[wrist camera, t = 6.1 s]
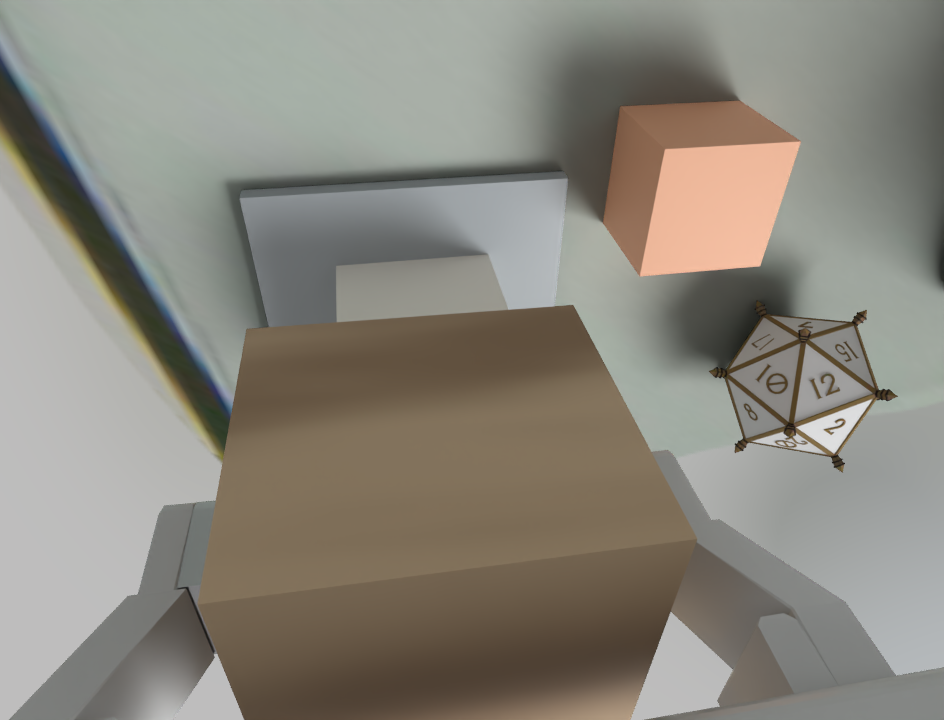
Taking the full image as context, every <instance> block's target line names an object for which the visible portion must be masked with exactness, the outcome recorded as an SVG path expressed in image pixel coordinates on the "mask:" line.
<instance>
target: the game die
mask: <svg viewBox="0 0 944 720" xmlns="http://www.w3.org/2000/svg"><path fill="white" fill-rule="evenodd" d="M764 306H765V305H763V304H761V303H760V302H758V301H757V303H756V309H755V310H756V311H757V314H759V315H760V316H761V318H760V319H759V321H758V322H757V324H756V325H755V327H754V328H753V330H752V331H751V333H750V334H749V336H748V337H747V339H746V340H745V342H744V343H743V345H742V346H741V348H740V349H739V351H738V352H737V354H736V355H735V357H734V358H733V360H732V361H731V363H730V364H729V366H728V367H727V369H726V370H723V369H722V368H720V369H719V368H718V367H716V368H715V369H713V370H711V371H709V372H710V373H711V374H712V375H713V376H714V377H715V378H717V377H719V378H721V377H723V378H724V379H725V381H726V384H727V387H728V391H729V394H730V397H731V400H732V403H733V407H734V410H735V413H736V416H737V419H738V423H739V426H740V429H741V432H742V435H743V439H742V440H741V441H738V443H737V444H735V445H736V446H735V453H736V452H739V451H743V449H744V448H746V445H747V443H755V444H760V445H766V446H772V447H777V448H784V449H789V450H794V451H800V452H806V453H812V454H817V455H823V456H829V457H831V458H832V461H833V462H832V463H833V464H834V468H837V469H838V470H840V471H841V472H843V467H844V464H845V463H843V462H842V459H841V458H840V457H839V456H838V454H839V452H840V451H841V449H842V448H843V447H844V445H845V443H846V442H847V441H848V439H849V438H850V436H851V435H852V434H853V432H854V431H855V429H856V428H857V427H858V425H859V424H860V422H861V421H862V419H863V418H864V417H865V415H866V414H867V412H868V411H869V409H870V408H871V407H872V405H873V404H874V402H875V401H876V399H877V400H880V399H881V400H886V401H889V400H892V398H895V397H898V396H897V395H895V394H894V393H893V392H892V391H891V390H890V389H888V390H885V389H883V390H879V389H878V386H877V383H876V381H875V378H874V375H873V372H872V369H871V366H870V363H869V360H868V357H867V354H866V351H865V348H864V345H863V342H862V339H861V336H860V333H859V330H858V328H857V326H858V324H860V323H863V321H864V320H866V314H867V310H865V311H862V312H859V313H858V312H857V315H856V316H854V317H853V318H854V319H853V321H852V322H845V321H834V320H824V319H813V318H802V317H791V316H780V315H769V314H767V313H766V308H765V307H764Z"/></svg>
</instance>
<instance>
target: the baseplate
mask: <svg viewBox="0 0 944 720" xmlns="http://www.w3.org/2000/svg"><path fill="white" fill-rule="evenodd" d="M567 187H568V177H567V176H566V174H565V173H564V171H558V172H541V173H524V174H507V175H490V176H473V177H456V178H439V179H422V180H405V181H388V182H371V183H354V184H337V185H320V186H303V187H286V188H269V189H252V190H241V194H240V198H239V199H240V203H241V208H242V212H243V216H244V221H245V225H246V230H247V234H248V238H249V243H250V247H251V252H252V256H253V260H254V265H255V269H256V274H257V278H258V282H259V287H260V291H261V296H262V300H263V304H264V309H265V313H266V318H267V322H268V326H269V327H279V326H293V325H307V324H320V323H334V322H348V321H361V320H375V319H389V318H402V317H416V316H430V315H443V314H457V313H471V312H485V311H498V310H512V309H526V308H539V307H553V306H555V298H556V289H557V280H558V271H559V261H560V252H561V243H562V233H563V224H564V215H565V206H566V196H567Z"/></svg>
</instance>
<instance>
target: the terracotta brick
mask: <svg viewBox="0 0 944 720" xmlns="http://www.w3.org/2000/svg"><path fill="white" fill-rule="evenodd" d="M800 143H801V141H800V140H798V139H797V138H795V137H794V136H792V135H791V134H789V133H788V132H786V131H785V130H783V129H782V128H780V127H779V126H777V125H776V124H774V123H773V122H771V121H770V120H768V119H767V118H765V117H764V116H762V115H761V114H759V113H758V112H756V111H755V110H753V109H752V108H750V107H749V106H747V105H746V104H744V103H743V102H741V101H720V102H699V103H678V104H657V105H636V106H620V111H619V118H618V124H617V131H616V138H615V145H614V151H613V158H612V165H611V172H610V179H609V185H608V192H607V199H606V206H605V213H604V219H603V224H604V225H605V227H606V228H607V230H608V231H609V233H610V234H611V235H612V237H613V238H614V240H615V241H616V243H617V244H618V246H619V247H620V248H621V250H622V251H623V253H624V254H625V256H626V257H627V259H628V260H629V262H630V263H631V264H632V266H633V267H634V269H635V270H636V272H637V273H638V275H639V276H650V275H662V274H674V273H686V272H698V271H710V270H721V269H733V268H745V267H757V266H760V265H761V262H762V259H763V256H764V253H765V250H766V247H767V244H768V241H769V238H770V235H771V232H772V229H773V225H774V222H775V219H776V216H777V213H778V210H779V207H780V204H781V201H782V198H783V195H784V192H785V189H786V186H787V183H788V180H789V177H790V174H791V171H792V168H793V165H794V162H795V159H796V156H797V152H798V149H799V146H800Z"/></svg>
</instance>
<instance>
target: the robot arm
mask: <svg viewBox="0 0 944 720" xmlns="http://www.w3.org/2000/svg"><path fill="white" fill-rule="evenodd" d="M652 454H653V456H654V458H655V460H656V462H657V464H658V465H659V467H660V469H661V471H662V473H663V475H664V477H665V479H666V481H667V482H668V484H669V486H670V488H671V490H672V492H673V494H674V496H675V497H676V499H677V501H678V503H679V505H680V507H681V509H682V511H683V512H684V514H685V516H686V518H687V520H688V522H689V524H690V526H691V528H692V529H693V531H694V533H695V535H696V537H697V542H696V544H695V547H694V550H693V553H692V555H691V558H690V561H689V563H688V566H687V569H686V571H685V574H684V577H683V579H682V582H681V585H680V587H679V590H678V593H677V596H676V598H675V601H674V604H673V606H672V609H671V612H672V613H673V614H674V615H675V616H676V617H677V618H678V619H679V620H680V621H682V622H683V623H684V624H685V625H686V626H687V627H688V628H689V629H690V630H691V631H692V632H693V633H695V635H697V636H698V637H699V638H700V639H701V640H702V641H703V642H704V643H705V644H706V645H707V646H708V647H709V648H711V649H712V650H713V651H714V652H715V653H716V654H717V655H718V656H719V657H720V658H721V659H722V660H723V661H724V662H725V663H726V664H728V665H729V666H730V667H731V668H732V669H733V671H732V673H731V675H730V677H729V679H728V681H727V683H726V685H725V686H724V688H723V690H722V692H721V694H720V697H719V698H718V703H719V705H720V707H715V708H709V709H704V710H698V711H692V712H686V713H681V714H675V715H670V716H663V717H658V718H653V719H646V720H944V667H943V668H937V669H931V670H926V671H920V672H914V673H909V674H903V675H897V676H896V675H895V673H894V672H893V671H892V670H891V668H890V666H889V665H888V663H887V662H886V660H885V659H884V657H883V656H882V655H881V653H880V652H879V650H878V649H877V647H876V646H875V644H874V643H873V641H872V640H871V638H870V637H869V636H868V634H867V633H866V631H865V630H864V628H863V627H862V625H861V624H860V622H859V621H858V620H857V618H856V617H855V615H854V614H853V612H852V611H851V609H850V608H849V607H848V605H847V604H846V602H845V601H843V600H842V599H840V598H839V597H837V596H835V595H834V594H832V593H831V592H829V591H828V590H826V589H825V588H823V587H821V586H820V585H819V584H817V583H816V582H814V581H812V580H811V579H809V578H808V577H806V576H805V575H803V574H802V573H800V572H799V571H797V570H796V569H794V568H793V567H791V566H790V565H788V564H786V563H785V562H784V561H782V560H781V559H779V558H777V557H776V556H774V555H773V554H771V553H770V552H768V551H767V550H765V549H764V548H762V547H761V546H759V545H758V544H756V543H755V542H753V541H752V540H750V539H748V538H747V537H745V536H744V535H742V534H741V533H739V532H738V531H736V530H735V529H733V528H732V527H730V526H728V525H727V524H726V523H724V522H723V521H721V520H719V519H718V520H711V519H710V517H709V515H708V513H707V512H706V510H705V508H704V507H703V505H702V503H701V501H700V500H699V498H698V496H697V495H696V493H695V491H694V489H693V488H692V486H691V484H690V483H689V481H688V479H687V477H686V476H685V474H684V472H683V470H682V469H681V467H680V465H679V464H678V462H677V460H676V458H675V457H674V455H673V454H672V453H671V452H670V451H668V450H663V451H655V452H652ZM215 503H216V501H206V502H197V503H188V504H178V505H166V506H164V507H163V509H162V510H161V512H160V513H159V515H158V519H157V523H156V527H155V531H154V535H153V538H152V542H151V546H150V550H149V554H148V557H147V561H146V565H145V569H144V573H143V577H142V581H141V585H140V588H139V592H138V595H131V596H127V598H126V599H125V600H124V601H123V602H122V603H121V604H120V605H119V606H118V607H117V608H116V609H115V610H114V611H113V612H112V613H111V614H110V615H109V616H108V617H107V618H106V619H105V620H104V622H103V623H102V624H101V625H100V626H99V627H98V628H97V629H96V630H95V631H94V632H93V633H92V634H91V635H90V636H89V637H88V638H87V639H86V640H85V641H84V642H83V643H82V644H81V646H80V647H79V648H77V650H76V651H75V652H74V653H73V654H72V655H71V656H70V657H69V658H68V659H67V660H66V661H65V662H64V663H63V664H62V665H61V666H60V667H59V668H58V669H57V670H56V671H55V672H54V673H53V675H52V676H51V677H50V678H49V679H48V680H47V681H46V682H45V683H44V684H43V685H42V686H41V687H40V688H39V689H38V690H37V691H36V692H35V693H34V694H33V695H32V696H31V697H30V699H28V701H27V702H26V703H25V704H24V705H23V706H22V707H21V708H20V709H19V710H18V711H17V712H16V713H15V714H14V715H13V716H12V717H11V718H10V719H9V720H173V719H174V718H175V716H176V715H177V713H178V712H179V710H180V709H181V707H182V706H183V704H184V703H185V701H186V700H187V698H188V696H189V695H190V694H191V692H192V691H193V689H194V688H195V686H196V685H197V683H198V682H199V680H200V679H201V677H202V676H203V674H204V673H205V671H206V669H207V668H208V667H209V665H210V664H211V662H212V661H213V659H214V654H217V651H216V649H215V646H214V644H213V642H212V639H211V637H210V634H209V632H208V629H207V627H206V624H205V622H204V620H203V617H202V615H201V612H200V610H199V607H198V605H197V603H198V598H199V592H200V587H201V581H202V575H203V570H204V564H205V559H206V553H207V548H208V542H209V536H210V531H211V525H212V520H213V514H214V508H215Z"/></svg>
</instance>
